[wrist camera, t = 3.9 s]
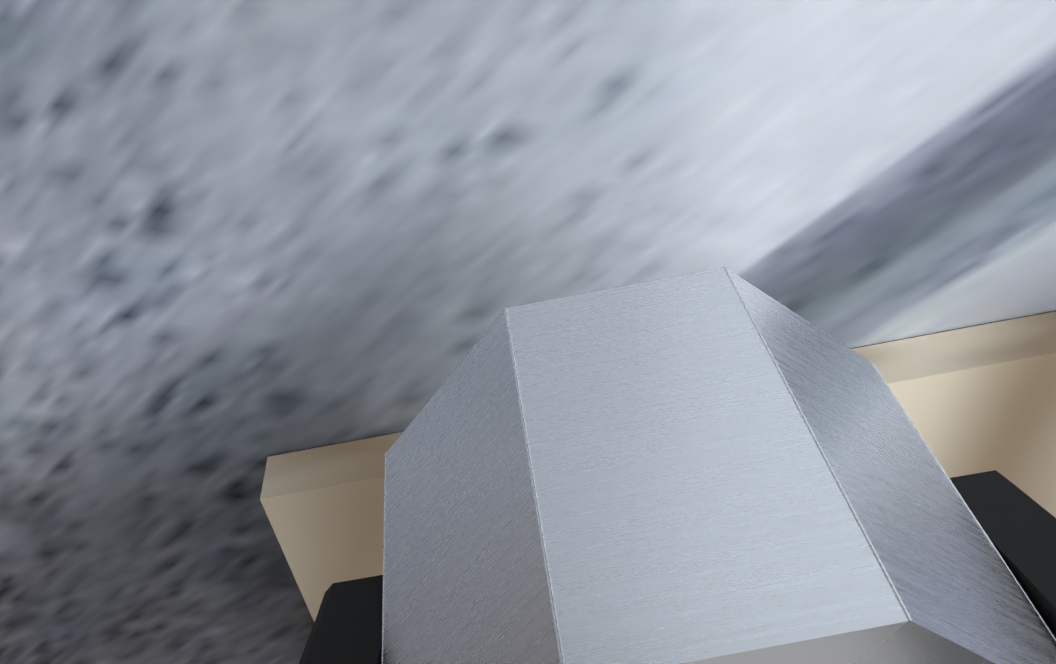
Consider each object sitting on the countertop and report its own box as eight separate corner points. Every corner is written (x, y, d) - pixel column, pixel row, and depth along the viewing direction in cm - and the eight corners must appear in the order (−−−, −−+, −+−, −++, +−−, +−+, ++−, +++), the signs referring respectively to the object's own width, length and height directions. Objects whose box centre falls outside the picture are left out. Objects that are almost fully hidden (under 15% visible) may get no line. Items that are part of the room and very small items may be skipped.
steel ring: (881, 237, 10) (1155, 575, 6) (859, 593, 13) (1033, 956, 10) (347, 335, 10) (319, 729, 6) (452, 669, 13) (471, 1062, 10)
